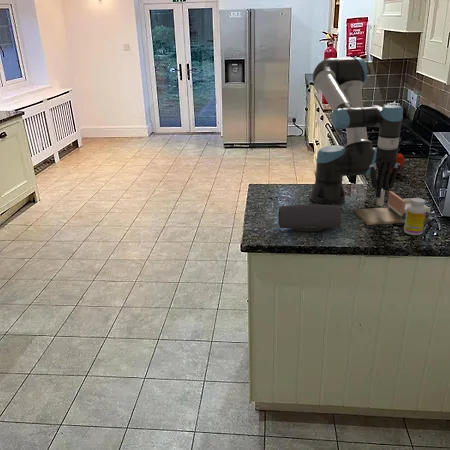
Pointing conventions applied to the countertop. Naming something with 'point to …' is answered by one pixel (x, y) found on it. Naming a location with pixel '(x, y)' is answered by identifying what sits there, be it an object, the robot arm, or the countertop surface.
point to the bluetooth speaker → (309, 217)
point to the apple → (399, 160)
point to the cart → (402, 205)
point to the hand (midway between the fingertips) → (379, 204)
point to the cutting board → (381, 216)
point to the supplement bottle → (415, 217)
